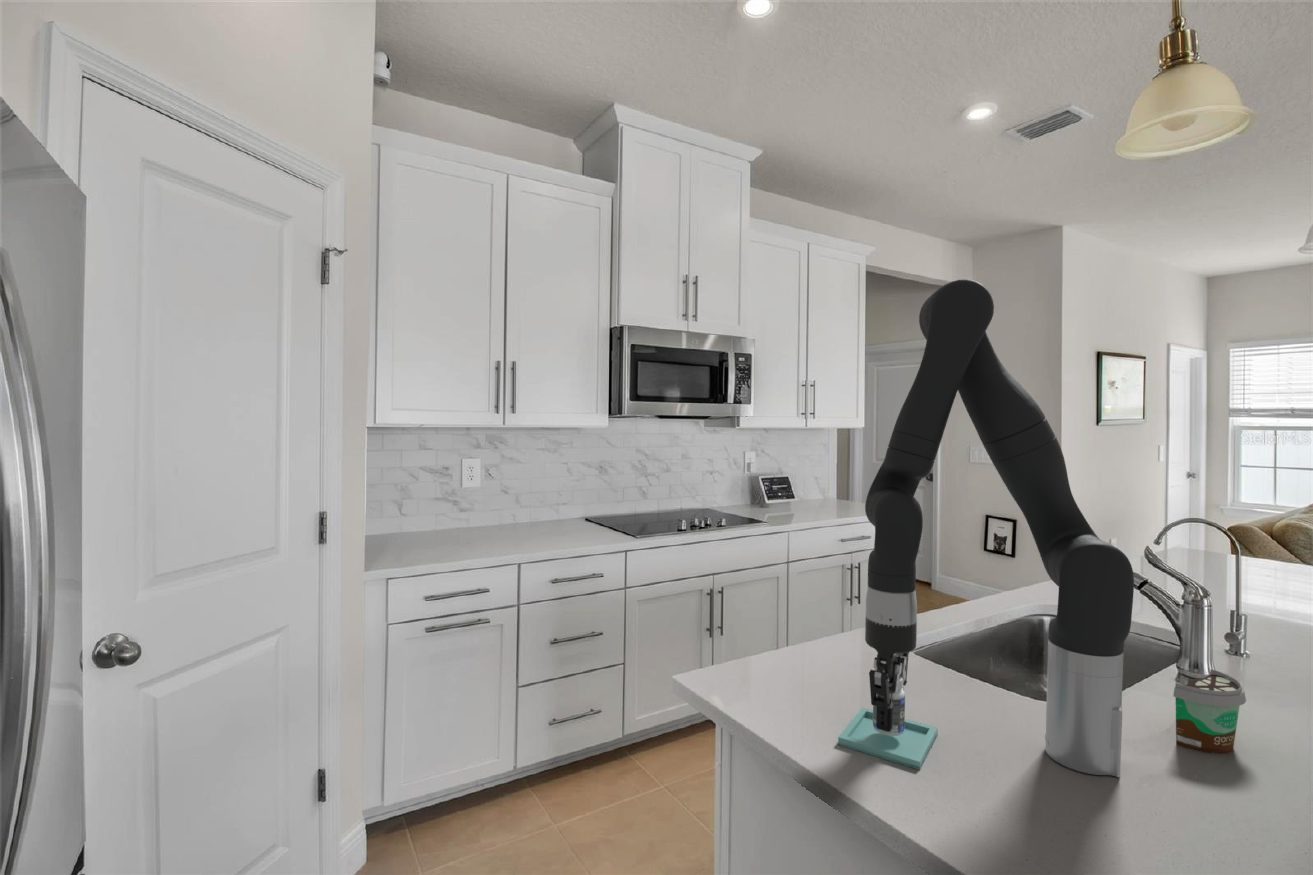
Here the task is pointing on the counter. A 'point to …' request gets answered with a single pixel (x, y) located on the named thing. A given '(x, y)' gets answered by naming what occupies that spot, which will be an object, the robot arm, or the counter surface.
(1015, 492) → the robot arm
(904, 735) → the tray
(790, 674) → the counter surface
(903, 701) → the pill bottle
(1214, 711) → the food container
